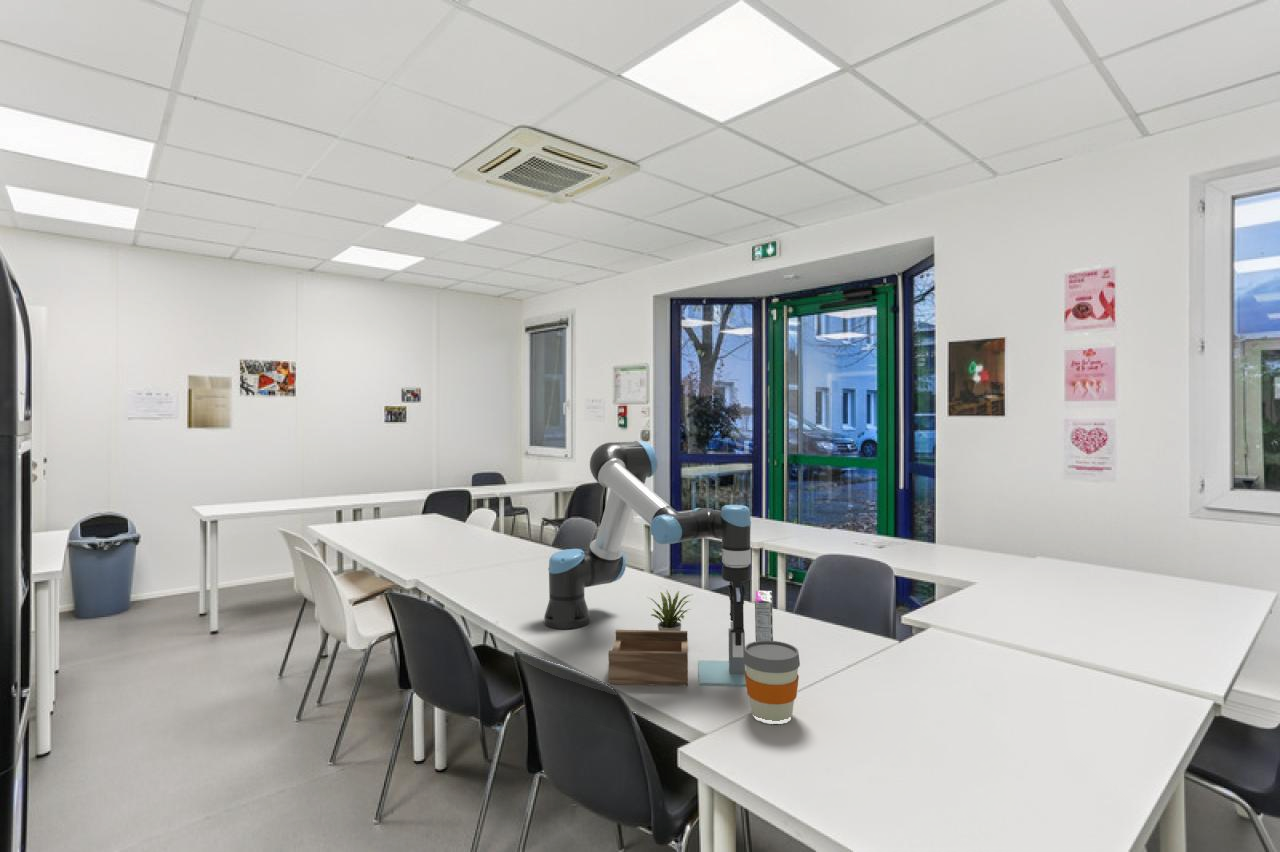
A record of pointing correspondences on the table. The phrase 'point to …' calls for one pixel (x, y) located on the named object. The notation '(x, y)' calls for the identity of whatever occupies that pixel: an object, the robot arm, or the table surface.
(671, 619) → the house plant
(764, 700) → the reusable coffee cup
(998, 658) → the table surface
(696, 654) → the table surface
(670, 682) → the walnut box
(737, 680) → the cover plate
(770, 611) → the candy bar box
